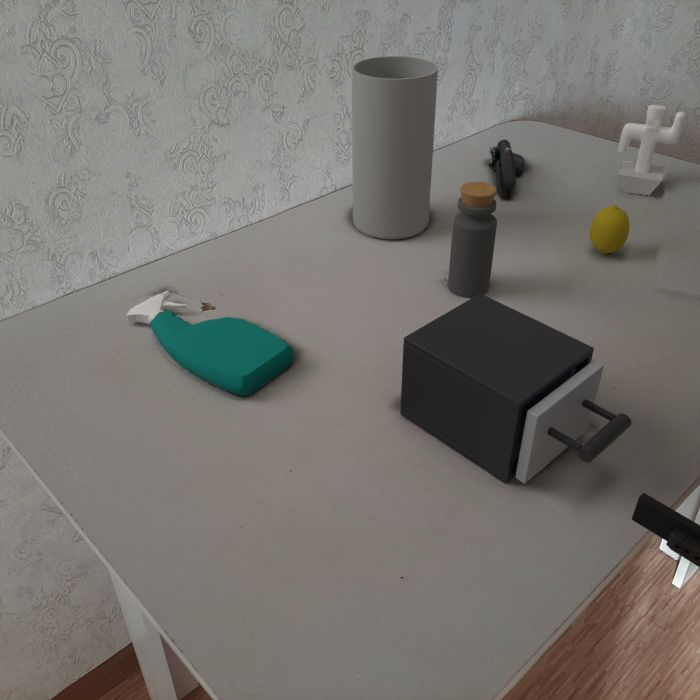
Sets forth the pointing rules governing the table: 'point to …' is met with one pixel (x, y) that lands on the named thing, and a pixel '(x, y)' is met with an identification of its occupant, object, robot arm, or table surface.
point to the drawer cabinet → (483, 378)
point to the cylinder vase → (392, 144)
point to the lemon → (609, 229)
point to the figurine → (647, 150)
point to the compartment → (565, 422)
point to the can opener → (506, 167)
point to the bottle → (473, 240)
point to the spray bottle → (216, 346)
